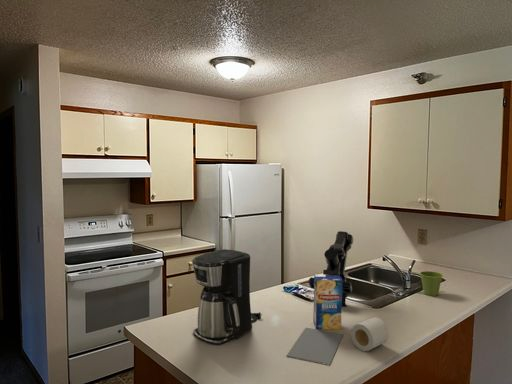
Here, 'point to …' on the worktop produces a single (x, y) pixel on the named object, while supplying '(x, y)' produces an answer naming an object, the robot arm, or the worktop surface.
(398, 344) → the worktop surface
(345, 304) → the robot arm
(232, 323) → the coffee maker
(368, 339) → the toilet paper
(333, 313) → the beverage box
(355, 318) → the worktop surface
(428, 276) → the plant pot
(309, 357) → the mat
